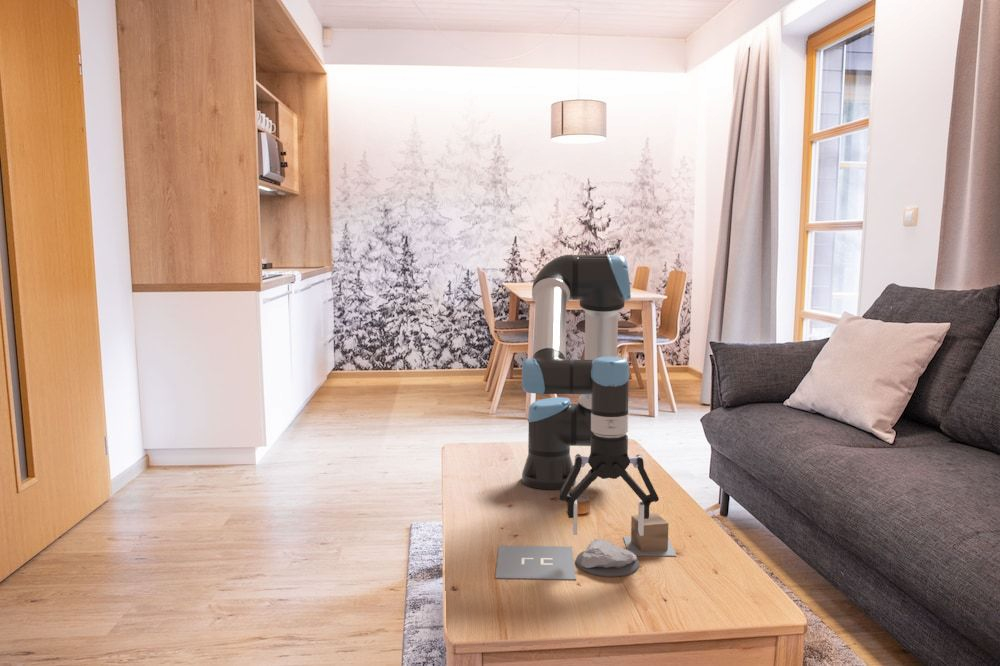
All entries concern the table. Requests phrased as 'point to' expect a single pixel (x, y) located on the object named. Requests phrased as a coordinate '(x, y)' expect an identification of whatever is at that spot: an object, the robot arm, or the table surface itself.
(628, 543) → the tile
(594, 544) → the stone
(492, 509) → the table surface
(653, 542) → the walnut block
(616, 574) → the coaster
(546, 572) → the tile
